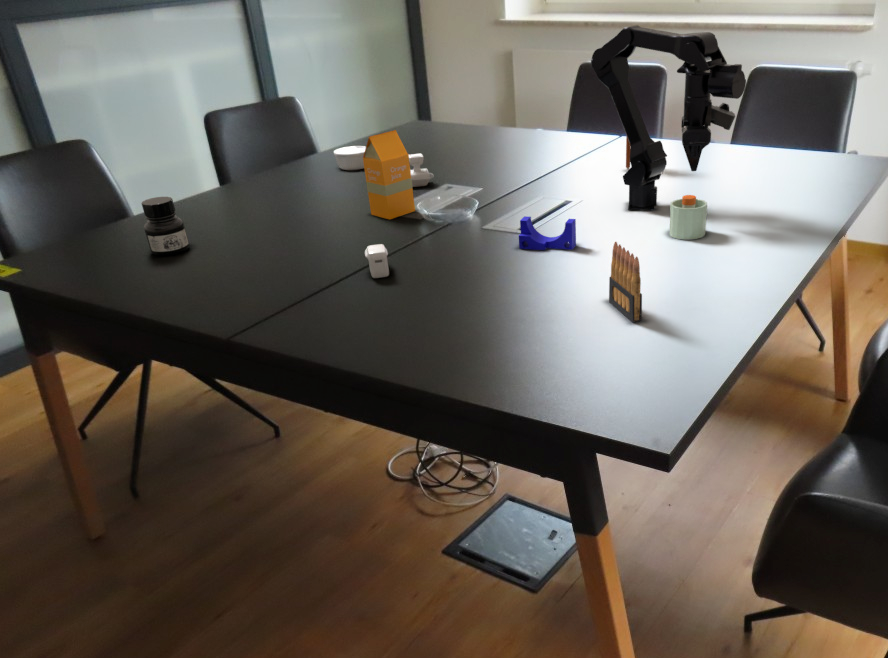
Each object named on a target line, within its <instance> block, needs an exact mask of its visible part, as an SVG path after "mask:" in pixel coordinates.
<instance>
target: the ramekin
mask: <svg viewBox="0 0 888 658" xmlns="http://www.w3.org/2000/svg"><path fill="white" fill-rule="evenodd" d="M365 149H366V146H365V145H352V146H350V145H349V146H344V147H340V148H336V149H335V150H333V155H334V157H335V160H336V163H337V166H338V167H339V169H340V170H343V171H344V170H345V171H357V170H363V169H364V163H363V155H364V152H365Z"/></svg>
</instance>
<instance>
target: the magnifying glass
mask: <svg viewBox="0 0 888 658" xmlns="http://www.w3.org/2000/svg"><path fill="white" fill-rule="evenodd" d="M625 138H626V139H625V140H626V141H625V145H626V146H625V168H626V172H627V171H628V170H629V169H630V168H631V163H630V148H631V146H630V143H629V140H628V137H627V135H626V136H625Z"/></svg>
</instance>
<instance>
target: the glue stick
mask: <svg viewBox="0 0 888 658" xmlns="http://www.w3.org/2000/svg"><path fill="white" fill-rule="evenodd" d="M681 199H682V208H695V204H696V199H697V196H696V195H695V194H694V195H693V194H685V195H682V198H681Z"/></svg>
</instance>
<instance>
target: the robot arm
mask: <svg viewBox="0 0 888 658" xmlns="http://www.w3.org/2000/svg"><path fill="white" fill-rule="evenodd" d="M637 48H641V49H646V50H651V51H656V52H662V53H668V54H671V55H673V56H675V57H676V58H677V59H678V60H680V61H682V62H683V63H682V65H681V66H679V68H678V69H677V70H676V73H677V74H685V77H684V78H685V79H684V80H685V81H684V96H683V97H684V98H683V116H682V117H681V125H680V126H681V145H682V147H683V149H684V152H685V156H686V159H687V162H688V165H689V168H690V171H691V172H697V171H698V166H699V163H700V159H701V156H702V152H703V149H704V148H706V147H707V146H709V145H710V143H711V142H712V131H711V128H710V127H711V125H714V126H715V125H716V126H718V127H720V128H723V129H724V130H726V131H730V130H731V128H732V125H733V123H734V121H735V118H736V113H734V111H731V110H730V105H729V104H728V103H726V102H722V103H721V104H720V105H713V102H712V98H711V96H712V97H715V98H724V99H736V100H739V99H740V98H741V97H742V96H743V95H744V92H745V90H746V85H747V79H746V74H745V72H744V71H743V64H742V63H741V64H740V63H735V64H728V62H727V61H726V59H725V56H724V55H723V52H722V51H721V49H720V46H719V42H718V39H717V38H716V35H715V34H714V33H713V32H710V31H703V32H702V31H701V32H690V33H677V32H671V31H665V30H661V29H660V30H659V29H654V28H647V27H643V26H640V25H638V24H635V25H630V26H625V27H623V28H622V29H621V30H620V31H619V32H618V33H617V34H616V35H615V36H614V37H613V38H611V39H610V40H608V41H607V42H606V43H604V44H603V45H602V46H601V47H599V48H597V49H595V50H594V51H593V53H592V56H591V59H590V65H591V69H592V70H593V72H594V74H595V75H596V77H597V79H598V80H599V82H601V83H602V84H603V85H604V87H606V88H607V89H608V91H609V93H610V96H611V99H612V101H613V103H614V107H615V108H616V112H617V115H618V117H619V119H620V122H621V124H622V126H623V130H624V132H625V134H626V135H627V137H628V140H629V143H630V168H629V170H628V171H627V170H626V172H625V173H624V174H623V175H622V180H623V183H624V185H625V186H628V205H627V210H628V211H654V210H655V207H656V206H657V203H658V202H657V200H658V186H656V181H659V180H660V179H661V176H662V173H664V171H665V169H666V167H667V163H668V161H667V158H666V157H668V155H667V153H666V152H665V150H664V149H665V148H664V146H663V143H662V141H661V140H657V141H655V140H653V139H652V137H651V136H650V134H649V131H648V129H647V126H646V124H645V120H644V119H643V116H642V113H641V111H640V108H639V105H638V103H637V100H636V98H635V95H634V93H633V90H632V87H631V84H630V82H629V71H630V65H629V60H628V59H629V58H630V57H631V56H632V55H633V54H634V52H635V50H636V49H637Z"/></svg>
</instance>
